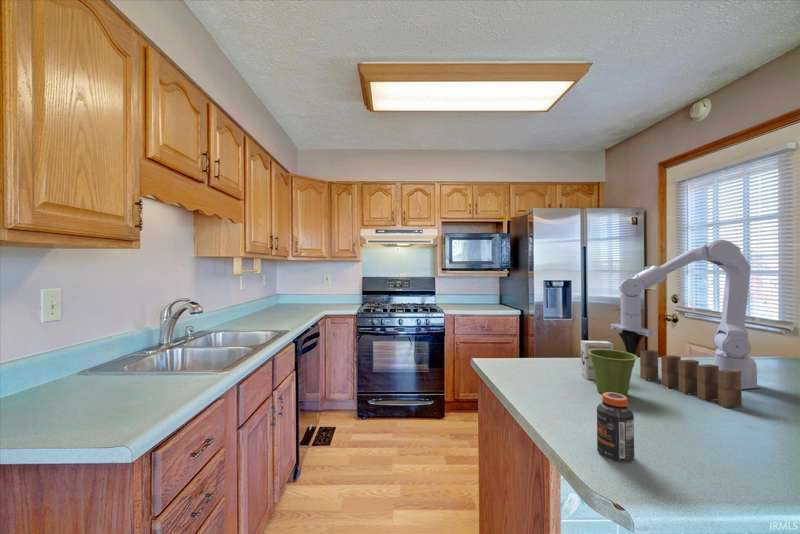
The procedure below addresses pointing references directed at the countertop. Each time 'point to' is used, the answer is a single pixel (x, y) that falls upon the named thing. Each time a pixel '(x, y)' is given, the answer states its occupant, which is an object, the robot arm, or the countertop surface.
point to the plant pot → (612, 370)
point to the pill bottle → (615, 428)
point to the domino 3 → (687, 376)
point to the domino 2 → (670, 370)
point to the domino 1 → (649, 364)
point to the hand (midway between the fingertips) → (631, 353)
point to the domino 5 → (729, 388)
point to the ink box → (586, 360)
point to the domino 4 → (707, 382)
